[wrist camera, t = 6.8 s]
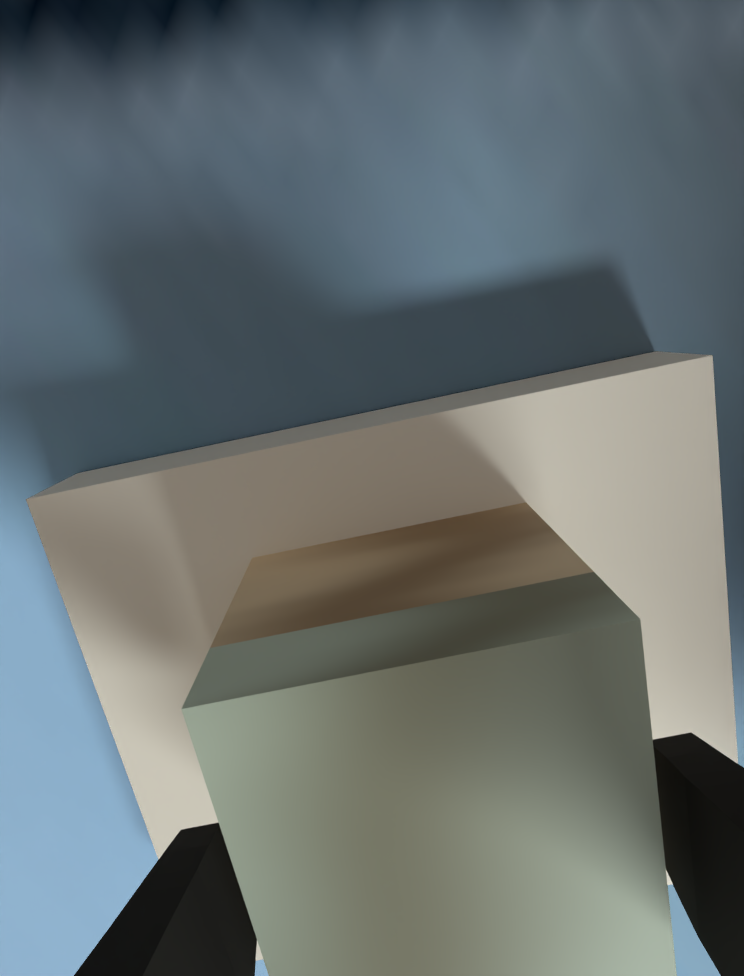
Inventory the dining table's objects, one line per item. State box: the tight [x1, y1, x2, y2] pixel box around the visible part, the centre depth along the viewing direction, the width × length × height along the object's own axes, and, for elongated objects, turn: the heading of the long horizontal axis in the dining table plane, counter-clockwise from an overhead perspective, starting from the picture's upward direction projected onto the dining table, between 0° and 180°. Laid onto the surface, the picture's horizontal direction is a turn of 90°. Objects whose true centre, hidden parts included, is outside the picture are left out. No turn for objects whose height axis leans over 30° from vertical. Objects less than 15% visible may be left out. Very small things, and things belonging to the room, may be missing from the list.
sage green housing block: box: [181, 502, 677, 976], centre depth 10 cm, size 5×7×4 cm
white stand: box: [26, 351, 738, 960], centre depth 13 cm, size 12×11×2 cm
